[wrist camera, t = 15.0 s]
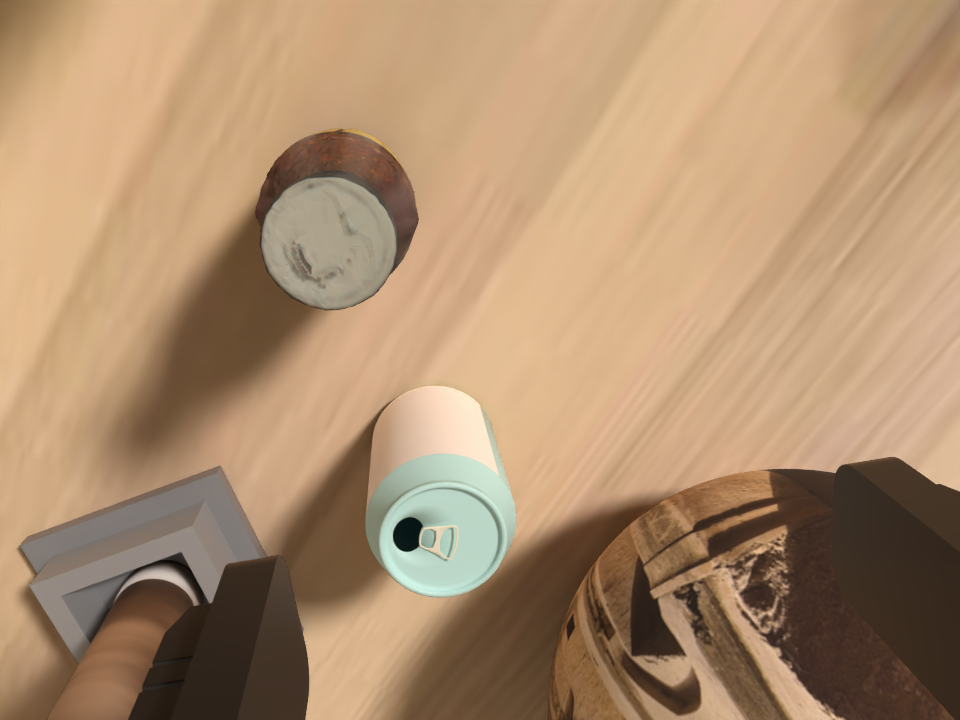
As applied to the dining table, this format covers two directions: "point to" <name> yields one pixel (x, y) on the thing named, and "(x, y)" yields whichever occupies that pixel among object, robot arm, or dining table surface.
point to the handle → (128, 643)
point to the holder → (137, 550)
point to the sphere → (728, 616)
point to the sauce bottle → (335, 218)
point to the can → (438, 493)
